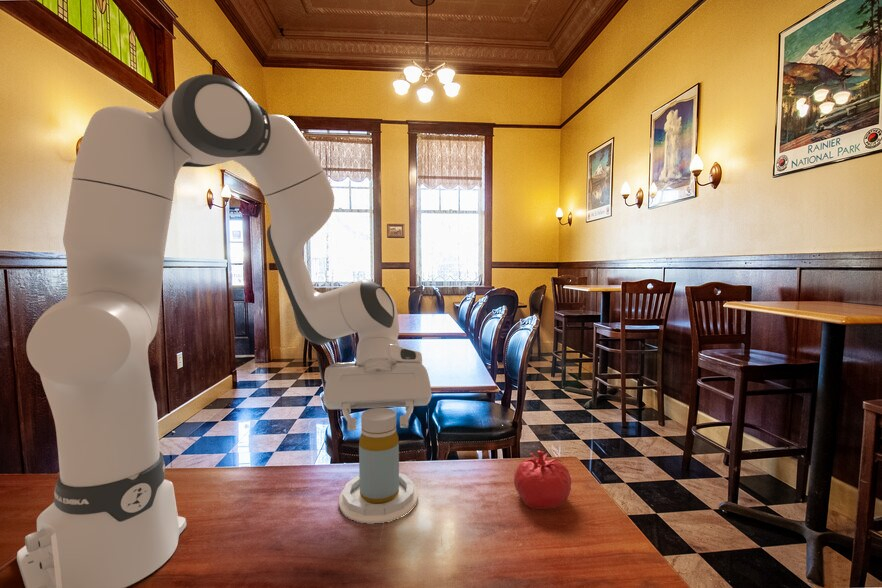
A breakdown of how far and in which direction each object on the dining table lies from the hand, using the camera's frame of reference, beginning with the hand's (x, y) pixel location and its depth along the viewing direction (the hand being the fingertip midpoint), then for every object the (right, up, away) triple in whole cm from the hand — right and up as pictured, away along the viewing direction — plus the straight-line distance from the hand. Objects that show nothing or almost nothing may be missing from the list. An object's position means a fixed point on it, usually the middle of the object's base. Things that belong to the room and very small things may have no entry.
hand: (378, 428), depth 76 cm
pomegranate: (+30, -13, 0) cm, 33 cm away
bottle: (0, -12, 0) cm, 12 cm away
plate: (0, -13, 0) cm, 13 cm away
